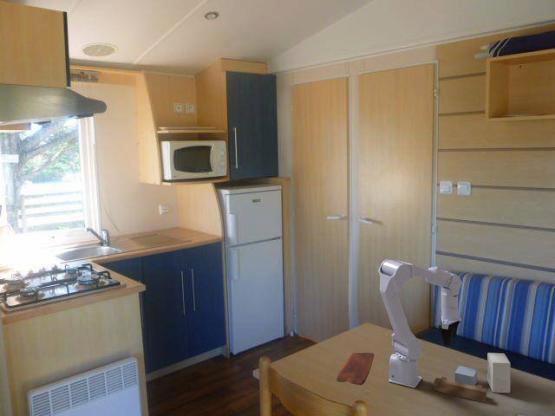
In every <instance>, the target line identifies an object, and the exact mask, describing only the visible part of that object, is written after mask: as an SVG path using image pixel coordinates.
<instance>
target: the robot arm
mask: <svg viewBox="0 0 555 416" xmlns="http://www.w3.org/2000/svg"><path fill="white" fill-rule="evenodd" d="M377 271H378V275H379V294H380V296H381V299H382V302H383V304H384V308H385V310H386V313H387V316H388V319H389V321H390V325H391V327H392V330H393V333H392V334H391V347H392V349H393V350H394V351H395V352H394V353H392V354H391V356H390V357H389V362H388V363H389V364H388V365H389V367H388V370H389V373H388V375H389V379H388V382H389V383H393V384H397V385H401V386H406V387H410V388H416V387H417V386H418V385H419V384H420V382H421V380H422V379H423V377H422V376H420V375H419V360H420V358H421V356H422V354H423V350H424V348H423V346H422V344H421V343H420V342H419V341H418V338H417V337H416V336H415V335H414V334H413V332H412V331H411V329H410V327H409V322H408V319H407V317H406V314H405V310H404V309H403V306H402V302H401V299H400V297H399V293H398V292H400V291H401V290H402V289H403V287H404V286H405V285H406V284H407V282H408V281H409V280H410V279H412V278H413V277H414V276H417V277H421V278H424V279H425V281H426V283H428V284H430V285H435V286H439V287H440V288H441V294H440V295H441V298H440V299H441V315H440V320H441V324H439V325H438V326H437V329H438V330H439V332H440V335H441V338H442V341H443V342H442V343H443V345H444V346H447V347H450V346H451V344H452V339H453V338H454V339H456V337H457V333H458V328H459V325H460V323H461V322H462V317H459V294H460V289H461V287H462V284H463V281H462V280H461V278H460V276H459V274H458V275H457V274H456V273H453V272H450V271H449V270H443V269H441V268H440V267H439V266H434V267H433V266H432V267H429V268H424V267H422V266H419V265H417V264H414V263H409V262H406V261H402V260H396V259H394V260H393V259H391V258H386V259H385V260H383V261H382V262H381V264H380V266H379V268H378V270H377Z"/></svg>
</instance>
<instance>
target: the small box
mask: <svg viewBox="0 0 555 416" xmlns="http://www.w3.org/2000/svg"><path fill="white" fill-rule="evenodd" d="M486 356H487V361H486V363H487V370H486V371H487V373H486V374H487V377H486V378H487V380H486V381H487V383H488V384H489V387H490V389H491V391H492V393H498V394H499V393H500V394H501V393H502V394H503V393H504V394H511V361H510V360H509V359H508V357H507V355H506V354H505V353H502V352H501V353H499V352H487V355H486Z"/></svg>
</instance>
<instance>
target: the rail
mask: <svg viewBox="0 0 555 416" xmlns="http://www.w3.org/2000/svg"><path fill="white" fill-rule="evenodd" d="M433 382H434V383H433V386H434V388H433V390H434V391H436V392H439V393H444V394H448V395H452V396H456V397H461V398H464V399H469V400H472V401H473V400H474V401H476V402H477V401H478V402H482V403H486V401H487V388H486V387H485V388H484V387H483V385H481V384H476V385H475V386H472V385H468V384H463V383H459V382H455V380H449V379H448V378H447V377H446V376H445V377H444V376H441V377H440V378H439V377H435V379H434V381H433Z"/></svg>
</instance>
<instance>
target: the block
mask: <svg viewBox="0 0 555 416" xmlns="http://www.w3.org/2000/svg"><path fill="white" fill-rule="evenodd" d="M454 382H459V383H463V384H468V385H472V386H477V382H478V369H477V368H472V367H467V366H462V365H459V366H458V367H457V369H456V370H455V372H454Z"/></svg>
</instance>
